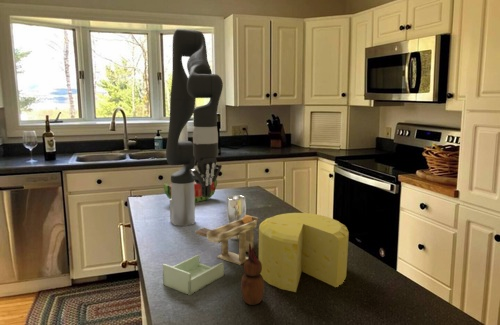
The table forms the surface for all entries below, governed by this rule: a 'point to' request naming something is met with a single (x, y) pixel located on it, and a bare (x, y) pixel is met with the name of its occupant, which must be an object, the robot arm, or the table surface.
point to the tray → (191, 275)
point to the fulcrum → (244, 241)
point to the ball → (247, 219)
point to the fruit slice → (196, 191)
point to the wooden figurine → (252, 280)
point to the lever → (227, 230)
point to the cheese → (302, 249)
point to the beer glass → (235, 209)
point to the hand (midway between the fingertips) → (206, 196)
